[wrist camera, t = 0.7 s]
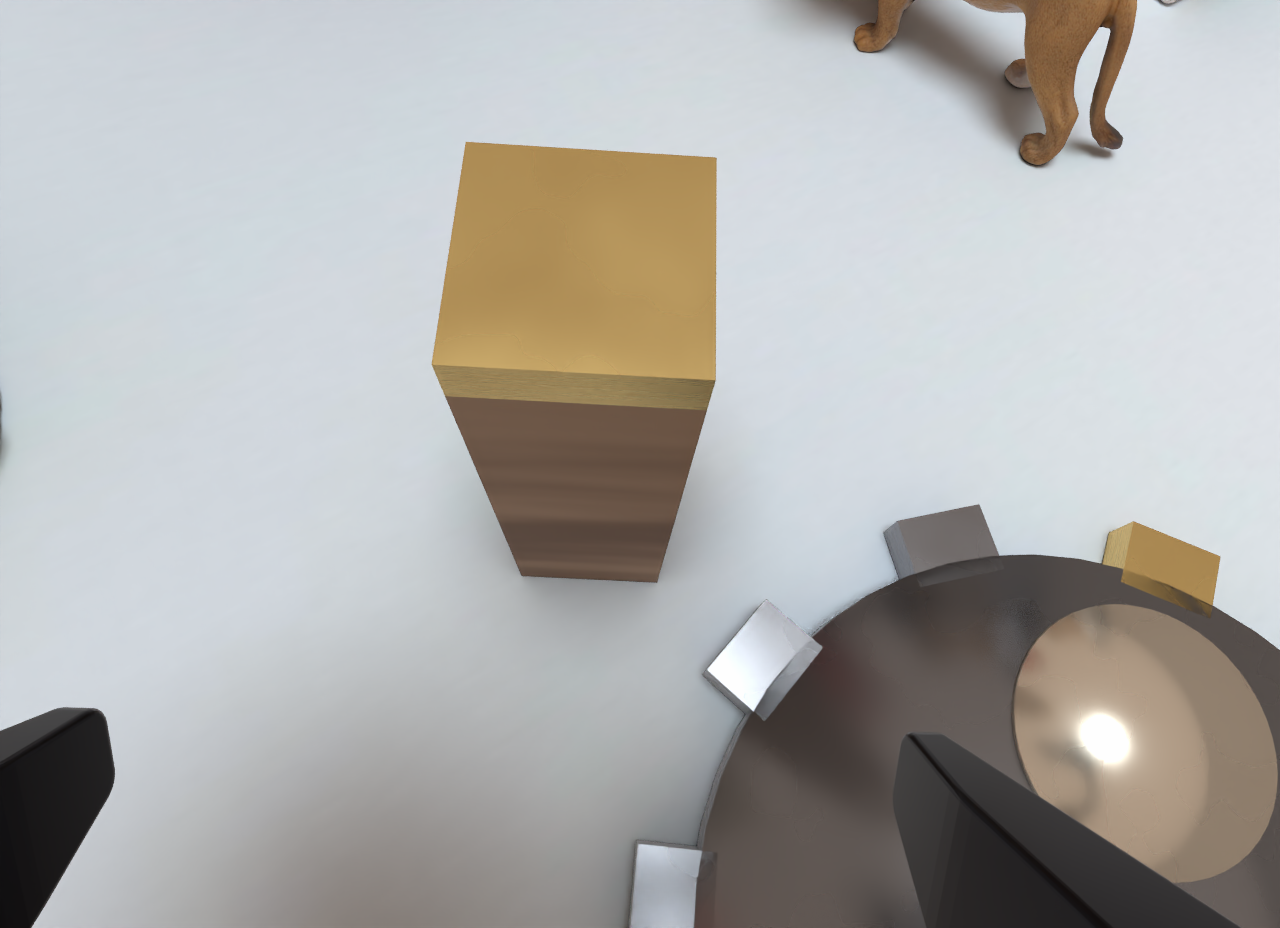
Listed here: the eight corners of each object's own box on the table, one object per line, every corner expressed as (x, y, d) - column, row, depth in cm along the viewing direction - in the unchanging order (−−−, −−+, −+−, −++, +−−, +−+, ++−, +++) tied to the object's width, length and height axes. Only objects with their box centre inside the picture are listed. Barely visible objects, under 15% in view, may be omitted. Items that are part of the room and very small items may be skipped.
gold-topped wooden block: (656, 582, 23) (715, 379, 11) (521, 575, 23) (431, 364, 11) (660, 457, 25) (716, 157, 12) (533, 450, 25) (466, 141, 12)
